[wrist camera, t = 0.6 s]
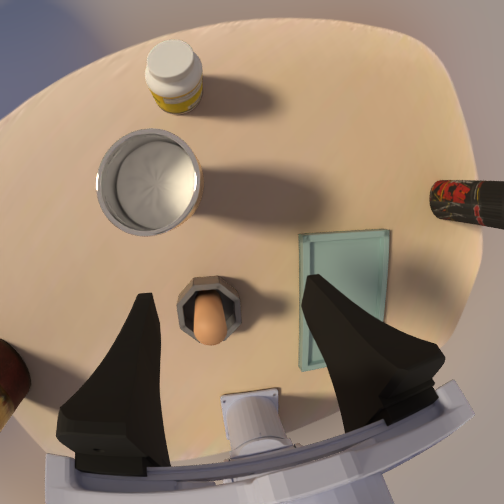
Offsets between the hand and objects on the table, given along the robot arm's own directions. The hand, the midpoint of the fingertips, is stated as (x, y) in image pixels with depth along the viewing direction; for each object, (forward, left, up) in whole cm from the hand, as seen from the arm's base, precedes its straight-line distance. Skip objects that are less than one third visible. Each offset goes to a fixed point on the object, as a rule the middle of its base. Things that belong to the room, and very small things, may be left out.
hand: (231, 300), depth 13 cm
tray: (-9, -16, -20) cm, 27 cm away
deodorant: (+4, -34, -20) cm, 39 cm away
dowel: (-7, +1, -19) cm, 20 cm away
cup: (-8, +1, -20) cm, 21 cm away
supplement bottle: (+17, +3, -20) cm, 26 cm away
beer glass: (+6, +4, -20) cm, 21 cm away
